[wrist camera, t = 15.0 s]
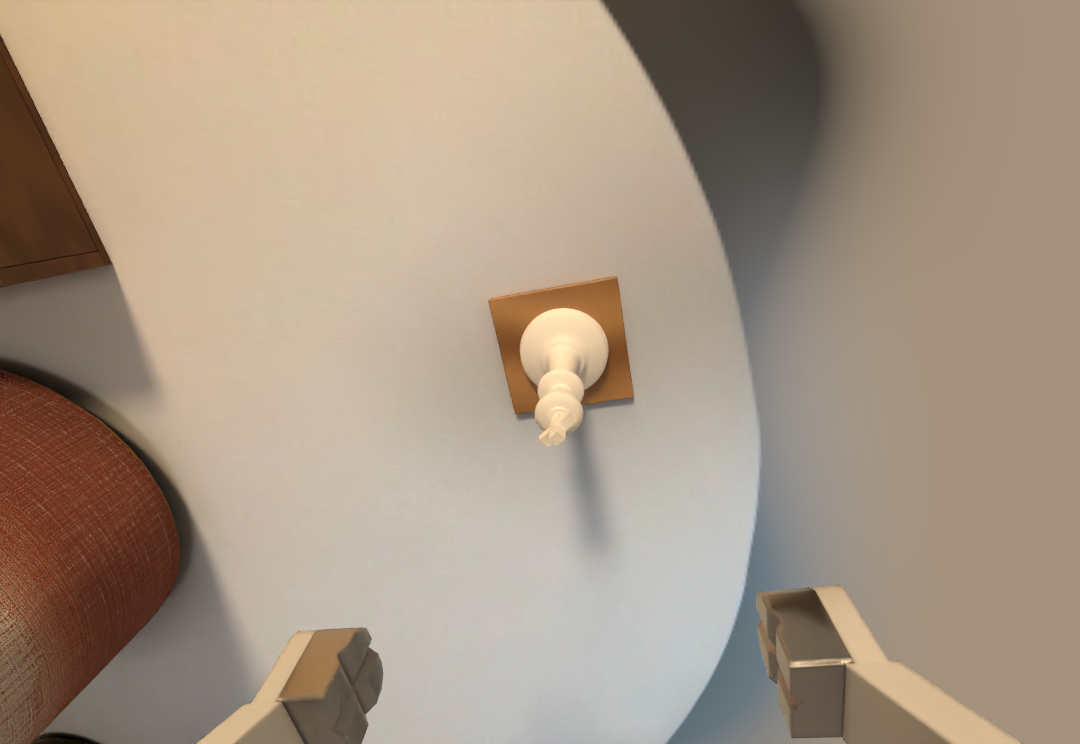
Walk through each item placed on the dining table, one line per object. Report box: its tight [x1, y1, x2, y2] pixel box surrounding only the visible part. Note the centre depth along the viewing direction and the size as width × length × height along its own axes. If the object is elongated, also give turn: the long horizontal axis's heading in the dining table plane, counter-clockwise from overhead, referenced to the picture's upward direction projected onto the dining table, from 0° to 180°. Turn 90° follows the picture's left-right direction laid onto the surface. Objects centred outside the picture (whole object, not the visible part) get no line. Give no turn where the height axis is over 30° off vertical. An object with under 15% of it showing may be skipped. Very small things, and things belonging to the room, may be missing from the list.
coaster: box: [489, 276, 634, 414], centre depth 29 cm, size 7×7×1 cm
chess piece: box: [520, 308, 609, 447], centre depth 24 cm, size 5×5×10 cm
